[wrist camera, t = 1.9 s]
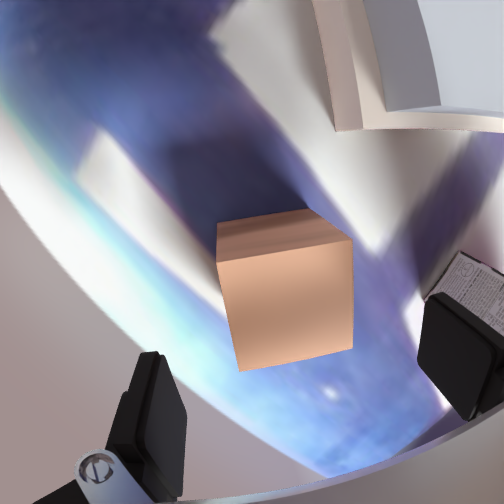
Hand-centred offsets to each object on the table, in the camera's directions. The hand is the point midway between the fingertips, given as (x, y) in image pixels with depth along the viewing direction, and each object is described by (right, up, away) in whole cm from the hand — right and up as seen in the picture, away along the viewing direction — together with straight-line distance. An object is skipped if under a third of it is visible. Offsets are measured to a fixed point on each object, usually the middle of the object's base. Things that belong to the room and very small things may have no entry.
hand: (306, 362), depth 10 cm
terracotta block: (-1, +3, +8) cm, 8 cm away
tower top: (+9, +16, 0) cm, 18 cm away
